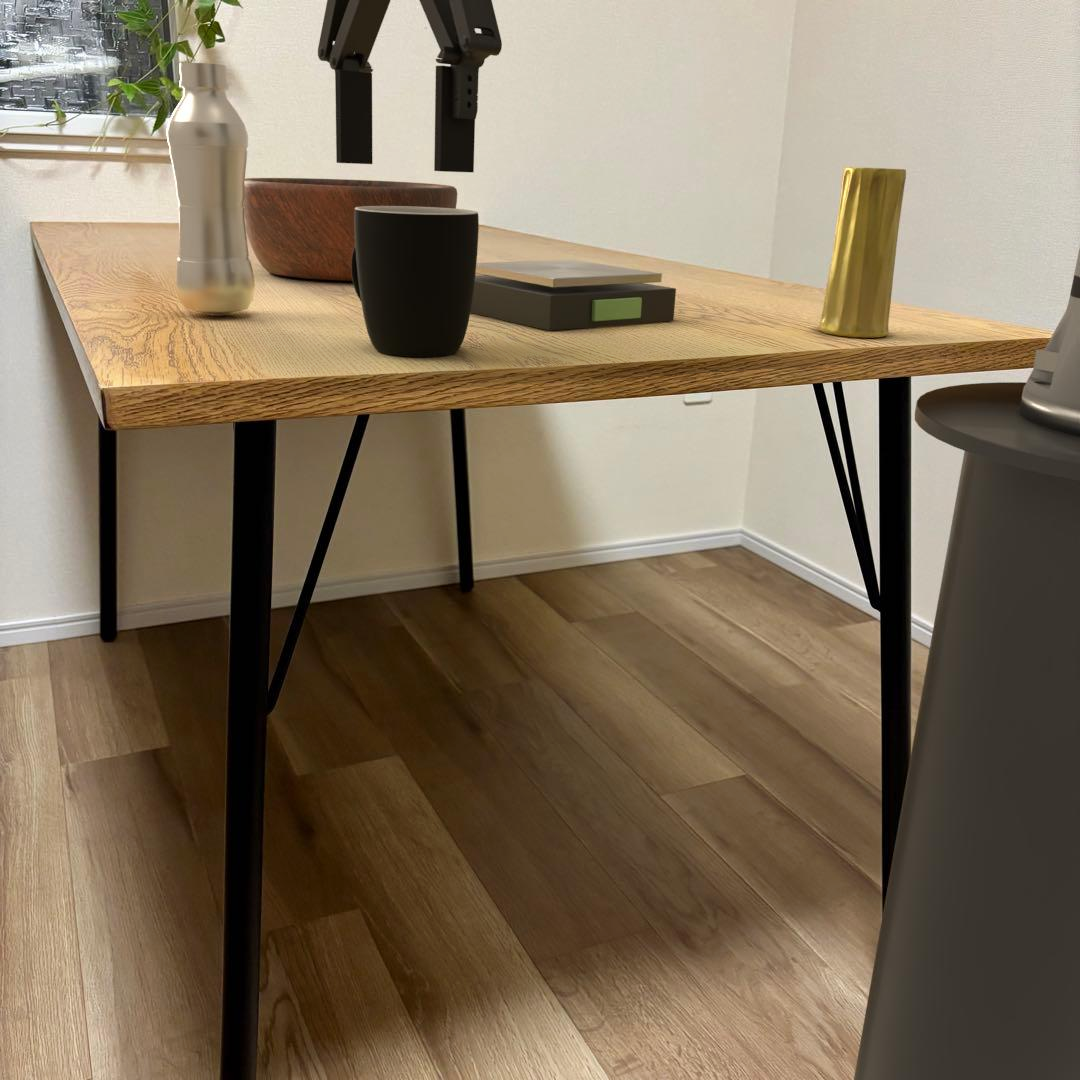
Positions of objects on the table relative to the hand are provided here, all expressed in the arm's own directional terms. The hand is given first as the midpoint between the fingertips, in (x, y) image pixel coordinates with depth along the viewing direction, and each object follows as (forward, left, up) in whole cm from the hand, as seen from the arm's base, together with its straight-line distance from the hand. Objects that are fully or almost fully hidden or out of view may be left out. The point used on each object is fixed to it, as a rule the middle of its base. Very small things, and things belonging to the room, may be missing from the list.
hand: (401, 168), depth 79 cm
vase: (-11, -41, -13) cm, 45 cm away
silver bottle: (+21, +6, -13) cm, 25 cm away
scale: (+9, -23, -13) cm, 28 cm away
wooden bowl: (+46, -21, -13) cm, 52 cm away
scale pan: (+9, -23, -9) cm, 26 cm away
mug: (0, 0, -13) cm, 13 cm away
